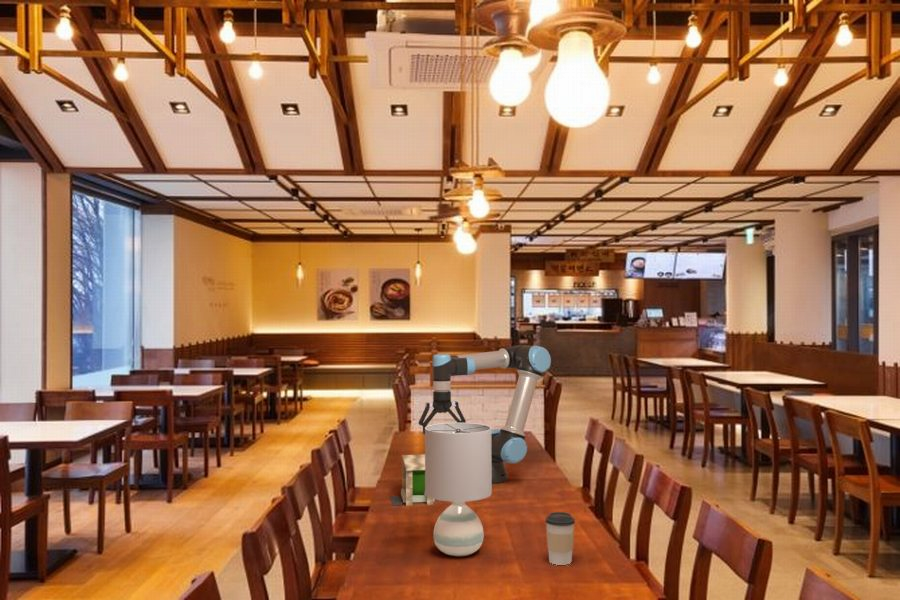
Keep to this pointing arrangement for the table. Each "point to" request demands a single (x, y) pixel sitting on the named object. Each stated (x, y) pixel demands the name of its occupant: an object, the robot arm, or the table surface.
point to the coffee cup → (560, 537)
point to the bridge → (407, 466)
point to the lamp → (458, 482)
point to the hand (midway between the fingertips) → (442, 440)
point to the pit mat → (396, 500)
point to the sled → (414, 497)
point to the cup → (418, 482)
